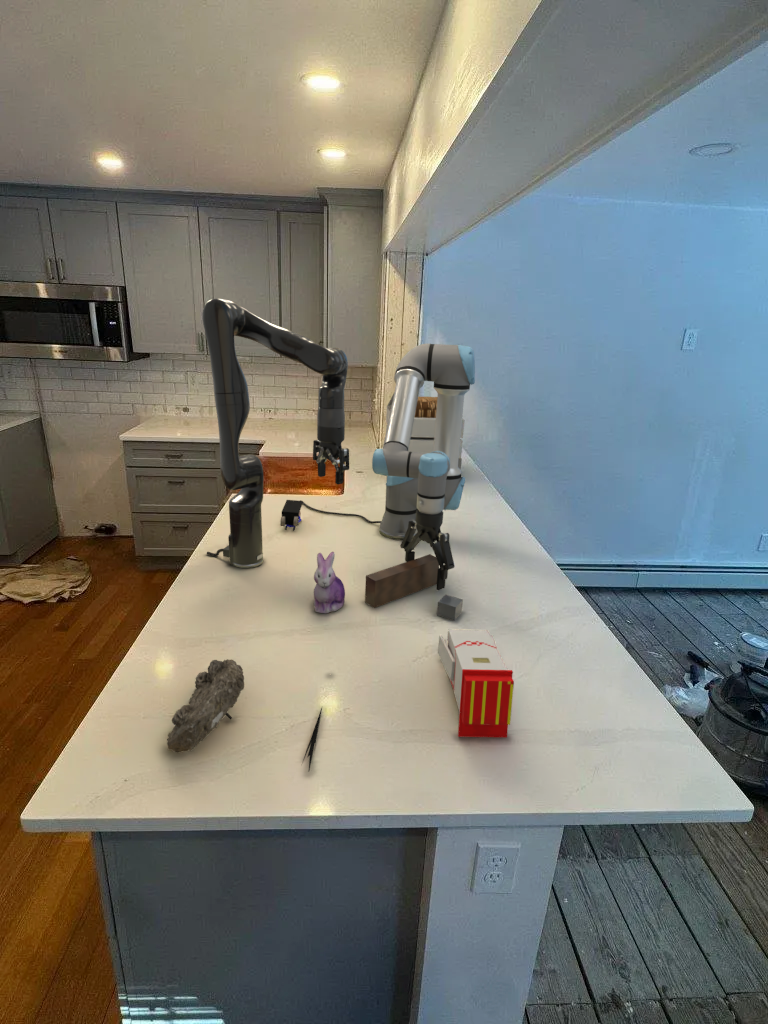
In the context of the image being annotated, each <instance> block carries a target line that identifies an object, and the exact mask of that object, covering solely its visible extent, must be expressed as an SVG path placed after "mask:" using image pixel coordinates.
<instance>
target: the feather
mask: <svg viewBox="0 0 768 1024" xmlns="http://www.w3.org/2000/svg"><path fill="white" fill-rule="evenodd" d="M329 675H330V676H331V675H332V674H331V673H330V674H329ZM322 710H323V707H321V708H320V710H319V713H318V716H317V719H316V723H315V725H314V728H313V731H312V733H311V737H310V739H309V742H308V745H307V748H306V751H305V754H304V757H303V760H302V763H301V767H302V765H303V763H304V761H305V758H308V759H309V760H308V762H307V763H308V764H307V766H308V771H310V770H311V766H312V765H311V764H312V760H313V757H315V756H314V755H315V751H316V749H315V746H317V739H318V733H319V729H320V722H321V717H322V712H323V711H322ZM313 754H314V755H313ZM306 755H307V757H306Z"/></svg>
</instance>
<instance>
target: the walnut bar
mask: <svg viewBox="0 0 768 1024" xmlns="http://www.w3.org/2000/svg"><path fill="white" fill-rule="evenodd" d="M438 568H440V566H439V563H438V561H437V558H436V556H435V555H434V554H433V555H432V554H431V553H430V554H426V555H423V556H420V557H418V558H415V559H414V560H411V561H408V562H406V561H404V562H402V563H399V564H397V565H392V566H389V567H388V568H384V569H382V570H378V571H375V572H372V573H369V574H366V575H365V587H364V588H365V589H364V590H365V592H364V603H365V604H367V605H369V606H370V607H372V608H373V609H376V608H378V607H381V606H383V605H386V604H389V603H391V602H394V601H397V600H399V599H402V598H404V597H407V596H409V595H412V594H414V593H418V592H421V591H422V590H425V589H428V588H430V587H433V586H435V585H437V573H438Z"/></svg>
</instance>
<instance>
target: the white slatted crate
mask: <svg viewBox="0 0 768 1024" xmlns="http://www.w3.org/2000/svg"><path fill="white" fill-rule="evenodd" d="M393 396H394V393H393V394H392V395H391V398H390V400H389V402H388V404H387V405H386V413H385V414H386V415H385V423H386V428H385V431H386V430H387V425H388V420H389V416H390V411H391V406H392V401H393ZM437 397H438V396H418V401H417V406H416V411H415V417H414V422H413V428H412V433H411V439H410V444H409V450H408V451H409V452H420V453H431V452H433V449H434V436H435V423H436V410H437ZM464 429H465V419H464V418H462V426H461V437H460V448H459V459H458V468H459V469H460V470H461V471H462V461H463V460H462V453H463V442H464V441H463V440H462V439H463V438H464V431H465V430H464Z"/></svg>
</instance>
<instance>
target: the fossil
mask: <svg viewBox="0 0 768 1024" xmlns="http://www.w3.org/2000/svg"><path fill="white" fill-rule="evenodd" d="M243 670H244V669H243V667H242V665H240V664H237V662H236V661H235V660H234V659H232V658H231V659H227V658H226V659H224V660H223V661H222V660H217V659H212V660H211V661H210V663H209V665H208V666H207V671H201V672H199V673H198V674H197V675H196V676H195V680H194V684H195V685H194V687H195V689H194V690H193V693H192V694H191V697H190V698H189V700H188V704H184V705H182V706H181V707H180V709H177V710H176V711H175V713H174V715H173V716H172V718H171V723H172V724H173V727H172V730H171V731H170V732H168V734H167V738H166V741H167V742H166V745H167V749H168V750H169V751H173V752H174V753H176V754H178V753H182V752H188V751H189V752H192V751H193V750H195V748H196V747H197V746H199V744H200V743H201V742H203V741H204V740H205V739H206V738H207V737H208V736H209V735H210V734H211V733H212V732H214V730H215V729H217V727H218V726H219V724H220V722H221V721H222V720H223V719H224V718H225V716H226V717H227V719H229V720H233V717H232V715H230V714H229V710H230V709H231V708H234V706H235V704H236V703H237V702H238V699H239V697H240V695H241V693H242V691H243V690H245V689H244V688H245V675H244V671H243Z"/></svg>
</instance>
